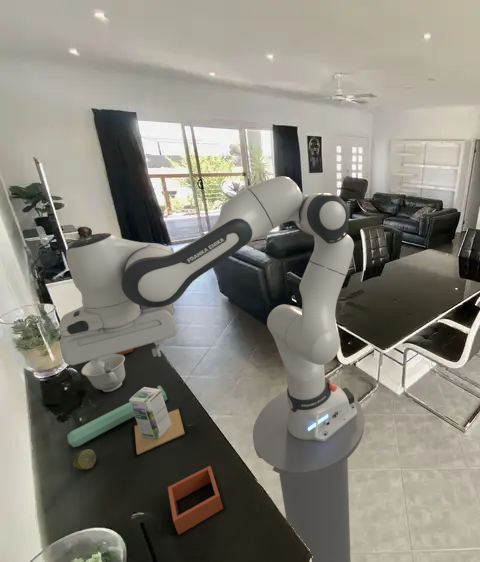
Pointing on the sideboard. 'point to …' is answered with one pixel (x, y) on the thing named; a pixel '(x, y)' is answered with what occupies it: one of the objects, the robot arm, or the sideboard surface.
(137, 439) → the mat
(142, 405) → the syrup box
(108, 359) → the teacup
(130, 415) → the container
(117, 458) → the sideboard surface
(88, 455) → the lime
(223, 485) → the sideboard surface
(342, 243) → the robot arm
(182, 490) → the holder
